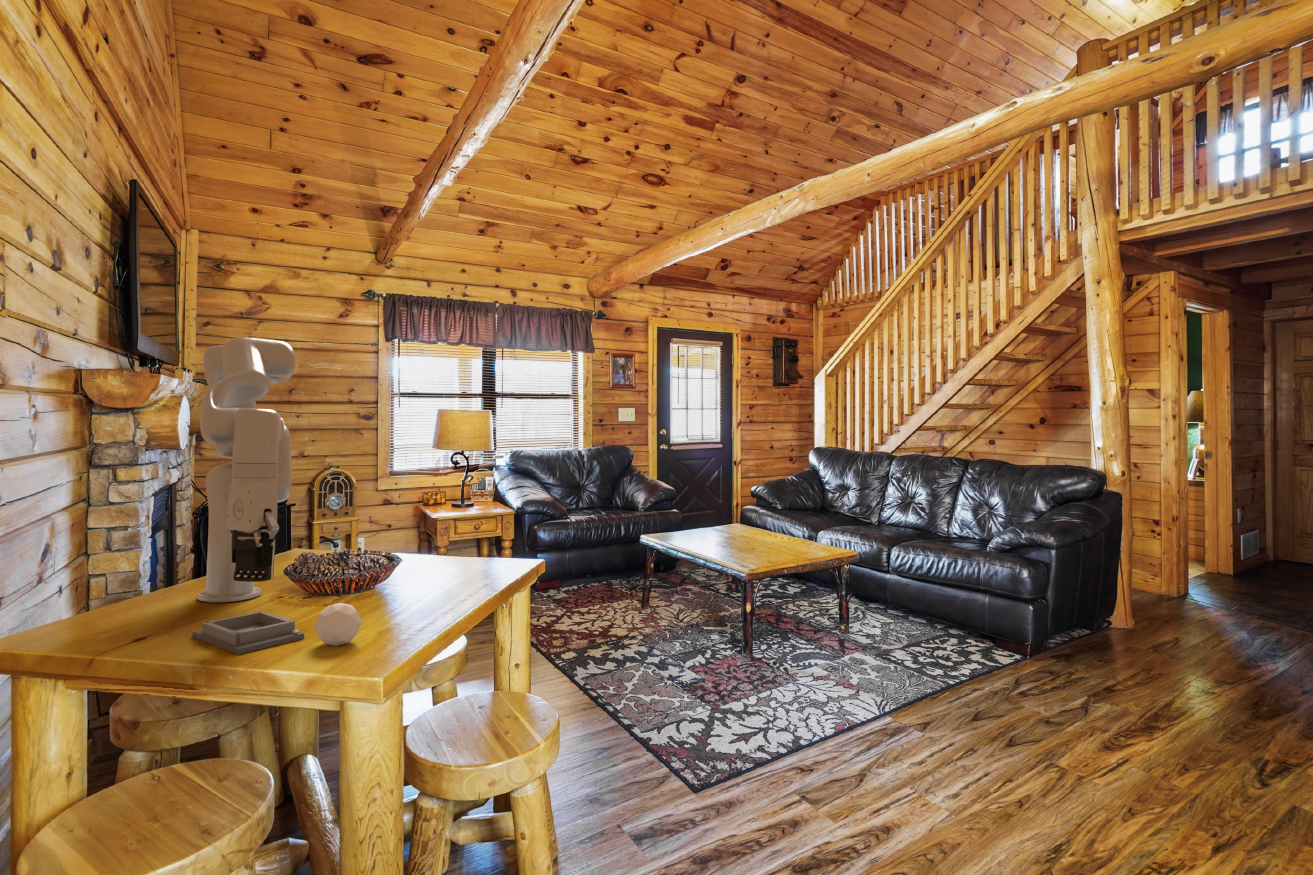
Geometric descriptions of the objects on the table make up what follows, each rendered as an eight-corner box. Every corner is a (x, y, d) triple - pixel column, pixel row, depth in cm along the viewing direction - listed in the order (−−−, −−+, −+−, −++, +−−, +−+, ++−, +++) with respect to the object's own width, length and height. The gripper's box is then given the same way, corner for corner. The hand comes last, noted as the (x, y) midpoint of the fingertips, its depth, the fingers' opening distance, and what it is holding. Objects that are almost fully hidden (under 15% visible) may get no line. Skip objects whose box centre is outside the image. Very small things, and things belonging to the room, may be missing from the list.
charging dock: (192, 636, 125) (193, 620, 125) (257, 622, 135) (258, 608, 135) (237, 654, 116) (238, 637, 116) (304, 638, 126) (304, 622, 126)
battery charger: (226, 582, 123) (229, 522, 123) (239, 578, 127) (241, 520, 127) (264, 583, 123) (266, 523, 123) (275, 579, 127) (277, 521, 127)
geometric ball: (341, 660, 122) (340, 634, 118) (306, 642, 124) (304, 615, 119) (370, 631, 128) (369, 605, 124) (336, 614, 130) (335, 588, 125)
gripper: (211, 470, 127) (207, 561, 127) (258, 475, 118) (254, 573, 117) (252, 470, 133) (248, 556, 133) (299, 474, 124) (296, 567, 124)
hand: (251, 563), depth 125 cm, fingers closed on battery charger, 7 cm apart
